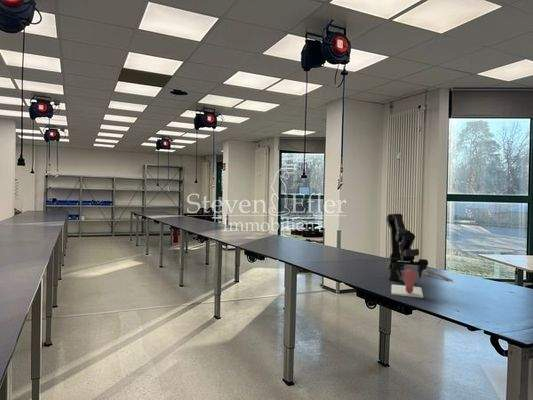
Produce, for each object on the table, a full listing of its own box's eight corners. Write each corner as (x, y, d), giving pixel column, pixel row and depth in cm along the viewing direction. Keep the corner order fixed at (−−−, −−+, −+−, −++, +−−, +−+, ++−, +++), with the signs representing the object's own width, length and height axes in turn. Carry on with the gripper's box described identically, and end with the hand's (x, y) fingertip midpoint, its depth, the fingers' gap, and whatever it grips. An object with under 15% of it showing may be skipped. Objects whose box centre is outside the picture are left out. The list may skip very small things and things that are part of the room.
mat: (391, 285, 215) (391, 284, 215) (420, 288, 210) (421, 287, 210) (391, 294, 197) (391, 292, 197) (423, 297, 192) (423, 296, 192)
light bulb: (409, 290, 203) (409, 267, 202) (419, 293, 196) (420, 269, 196) (398, 291, 200) (399, 268, 199) (409, 295, 193) (409, 271, 193)
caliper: (423, 275, 246) (423, 265, 246) (424, 275, 247) (424, 265, 247) (452, 282, 229) (453, 271, 228) (454, 282, 229) (454, 271, 229)
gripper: (390, 242, 202) (394, 267, 191) (428, 243, 200) (434, 269, 189) (386, 254, 210) (390, 279, 199) (422, 256, 208) (428, 282, 197)
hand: (410, 277), depth 196 cm, fingers open, 9 cm apart
